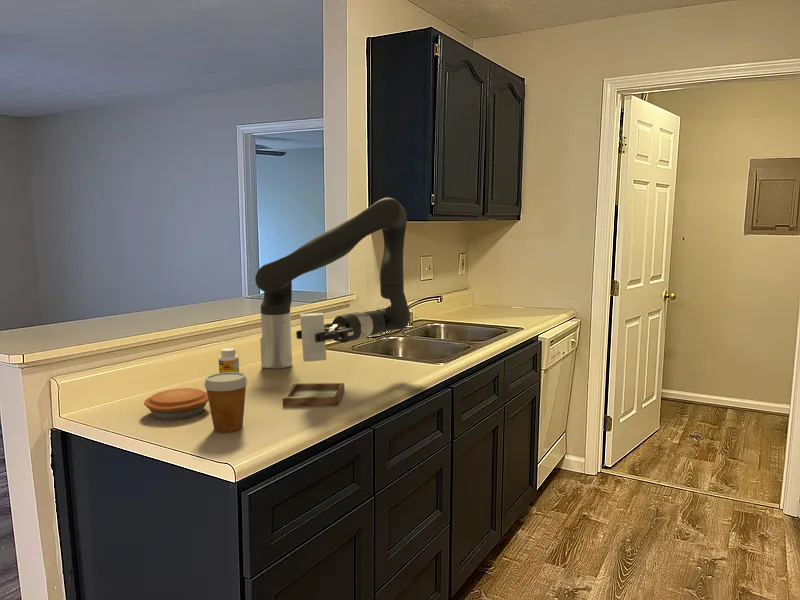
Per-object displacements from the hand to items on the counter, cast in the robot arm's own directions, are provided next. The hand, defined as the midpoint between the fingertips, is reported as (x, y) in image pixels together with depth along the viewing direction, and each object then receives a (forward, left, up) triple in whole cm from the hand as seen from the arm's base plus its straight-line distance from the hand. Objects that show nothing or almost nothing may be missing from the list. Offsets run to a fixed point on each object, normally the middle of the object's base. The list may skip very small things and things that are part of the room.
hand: (306, 336), depth 159 cm
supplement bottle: (-26, +17, -17) cm, 35 cm away
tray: (+1, +2, -17) cm, 17 cm away
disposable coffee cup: (-15, -21, -17) cm, 31 cm away
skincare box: (+1, +2, -7) cm, 7 cm away
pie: (-31, -9, -17) cm, 36 cm away
